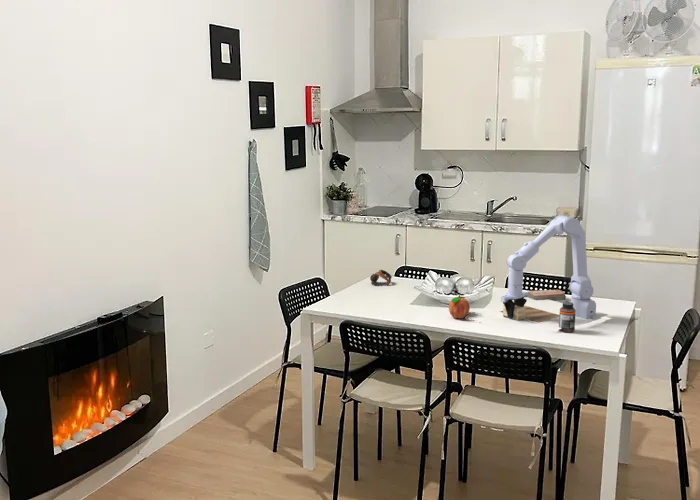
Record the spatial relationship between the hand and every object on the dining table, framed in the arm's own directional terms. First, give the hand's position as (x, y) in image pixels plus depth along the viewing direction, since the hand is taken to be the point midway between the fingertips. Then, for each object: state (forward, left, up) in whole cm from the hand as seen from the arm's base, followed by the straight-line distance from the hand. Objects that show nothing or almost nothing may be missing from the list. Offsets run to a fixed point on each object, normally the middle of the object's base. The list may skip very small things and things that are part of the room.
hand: (513, 316), depth 284 cm
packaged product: (+15, -37, -3) cm, 40 cm away
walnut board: (0, -10, -2) cm, 11 cm away
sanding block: (0, 0, 0) cm, 0 cm away
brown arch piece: (+84, +4, -2) cm, 84 cm away
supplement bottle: (-21, -6, -2) cm, 22 cm away
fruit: (+17, +15, -2) cm, 22 cm away
